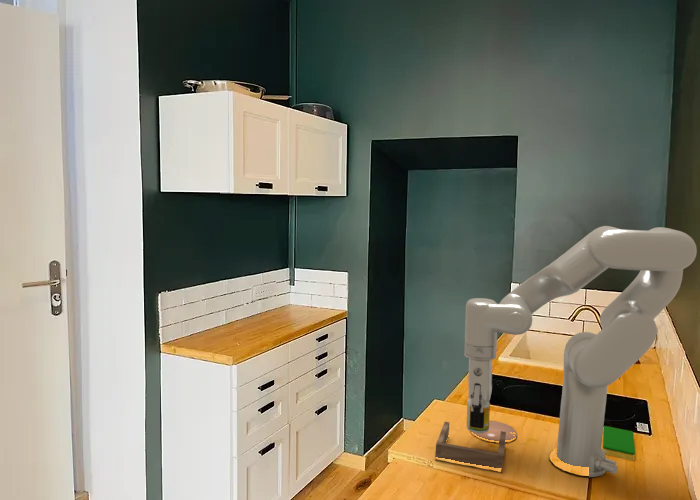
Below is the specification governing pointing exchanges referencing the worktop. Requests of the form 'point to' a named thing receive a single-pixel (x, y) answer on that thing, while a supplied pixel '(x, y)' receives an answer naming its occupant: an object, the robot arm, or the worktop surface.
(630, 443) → the dish sponge
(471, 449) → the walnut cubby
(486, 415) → the supplement bottle
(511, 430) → the terracotta coaster
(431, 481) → the worktop surface
